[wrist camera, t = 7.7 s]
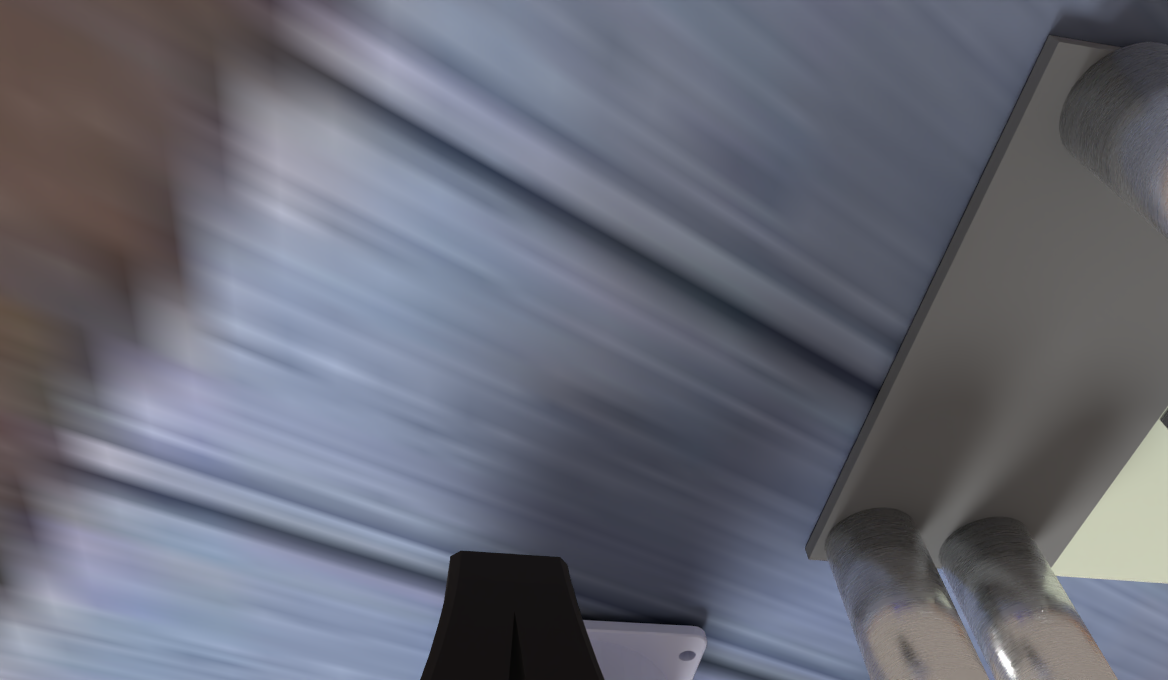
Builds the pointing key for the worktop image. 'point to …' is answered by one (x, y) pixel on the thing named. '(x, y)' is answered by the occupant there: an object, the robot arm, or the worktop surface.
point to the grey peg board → (1001, 544)
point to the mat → (1032, 364)
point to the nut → (1165, 418)
